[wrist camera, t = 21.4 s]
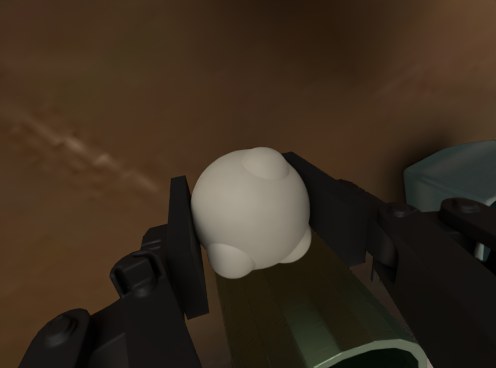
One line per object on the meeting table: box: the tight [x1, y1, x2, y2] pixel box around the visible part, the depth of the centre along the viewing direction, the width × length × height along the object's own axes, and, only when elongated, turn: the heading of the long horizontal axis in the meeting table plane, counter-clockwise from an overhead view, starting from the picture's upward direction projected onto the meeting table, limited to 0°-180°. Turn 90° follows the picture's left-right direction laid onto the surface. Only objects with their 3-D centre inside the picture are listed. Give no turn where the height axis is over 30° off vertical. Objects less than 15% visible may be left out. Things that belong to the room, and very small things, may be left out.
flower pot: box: [403, 140, 496, 261], centre depth 22 cm, size 9×9×9 cm
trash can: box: [215, 227, 427, 368], centre depth 19 cm, size 11×11×13 cm
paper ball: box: [190, 147, 311, 279], centre depth 12 cm, size 6×6×6 cm
